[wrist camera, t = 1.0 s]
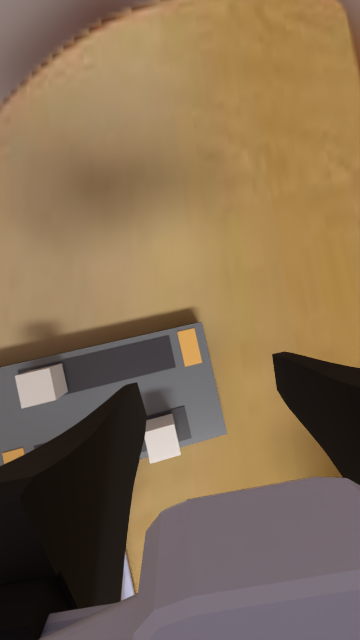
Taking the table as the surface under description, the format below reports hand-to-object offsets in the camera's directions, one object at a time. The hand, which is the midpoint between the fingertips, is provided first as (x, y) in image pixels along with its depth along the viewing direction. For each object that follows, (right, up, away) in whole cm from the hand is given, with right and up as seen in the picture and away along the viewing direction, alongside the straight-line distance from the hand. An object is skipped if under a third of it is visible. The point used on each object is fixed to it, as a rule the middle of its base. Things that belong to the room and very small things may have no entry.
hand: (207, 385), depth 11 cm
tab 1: (-15, -3, +11) cm, 19 cm away
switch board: (-9, -6, +14) cm, 18 cm away
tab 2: (-3, -9, +12) cm, 15 cm away
